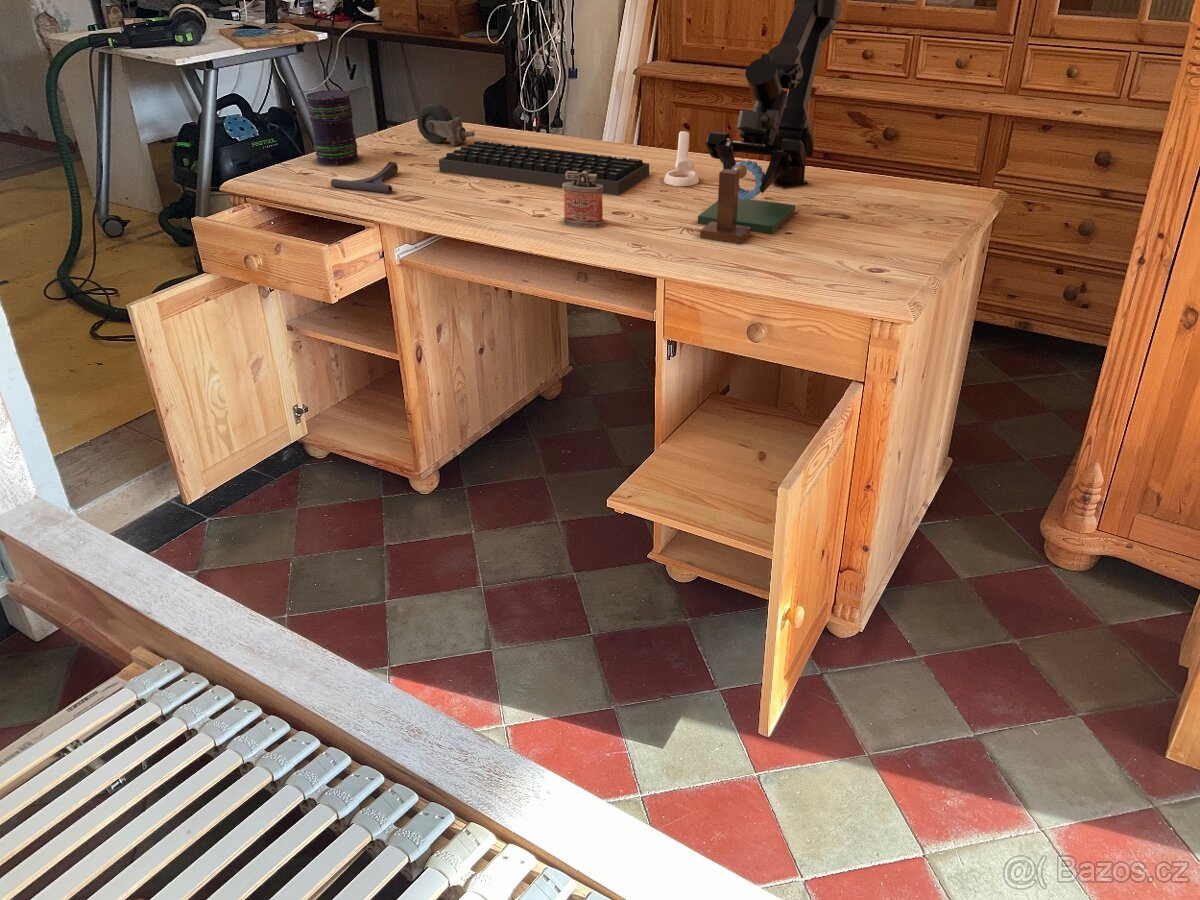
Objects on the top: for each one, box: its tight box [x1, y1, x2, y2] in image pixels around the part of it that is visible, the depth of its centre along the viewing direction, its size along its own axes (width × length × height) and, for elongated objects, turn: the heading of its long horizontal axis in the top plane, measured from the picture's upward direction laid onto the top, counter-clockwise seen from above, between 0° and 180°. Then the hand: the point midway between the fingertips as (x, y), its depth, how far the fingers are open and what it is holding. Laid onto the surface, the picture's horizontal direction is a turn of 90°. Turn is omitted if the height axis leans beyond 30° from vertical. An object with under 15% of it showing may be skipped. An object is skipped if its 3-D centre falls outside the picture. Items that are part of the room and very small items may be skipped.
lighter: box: [562, 171, 605, 228], centre depth 186 cm, size 8×3×10 cm, turn 71°
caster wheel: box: [416, 103, 476, 147], centre depth 240 cm, size 6×10×15 cm
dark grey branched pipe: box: [330, 161, 399, 194], centre depth 214 cm, size 14×15×3 cm
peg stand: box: [699, 165, 752, 245], centre depth 180 cm, size 10×8×12 cm
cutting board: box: [697, 198, 796, 235], centre depth 190 cm, size 14×15×2 cm
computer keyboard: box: [438, 140, 650, 196], centre depth 217 cm, size 45×16×4 cm, turn 64°
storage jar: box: [305, 89, 359, 167], centre depth 227 cm, size 10×10×15 cm
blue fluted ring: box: [732, 159, 766, 200], centre depth 184 cm, size 2×7×7 cm, turn 63°
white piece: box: [663, 130, 700, 187], centre depth 212 cm, size 8×12×7 cm
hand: (743, 189), depth 184 cm, fingers closed on blue fluted ring, 7 cm apart
